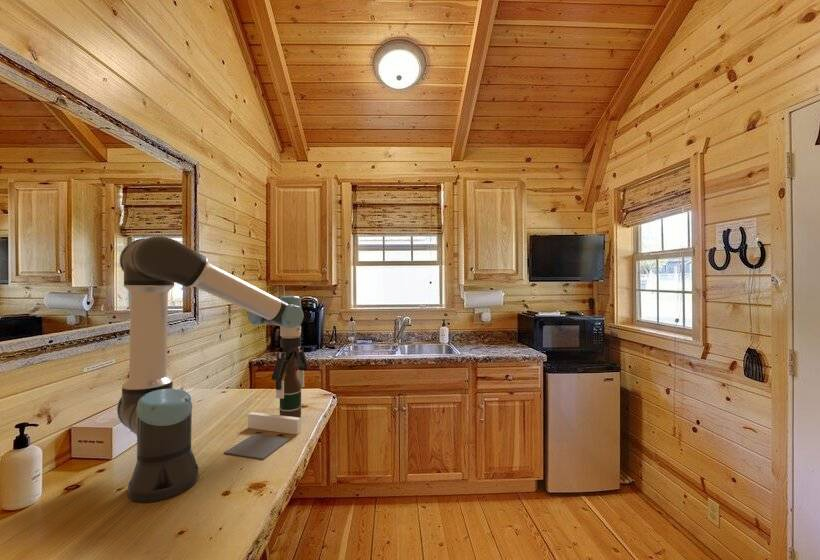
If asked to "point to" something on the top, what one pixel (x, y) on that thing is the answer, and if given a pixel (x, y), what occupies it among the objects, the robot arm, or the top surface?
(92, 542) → the top surface
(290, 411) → the beer bottle
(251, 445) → the mat
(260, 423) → the wall
